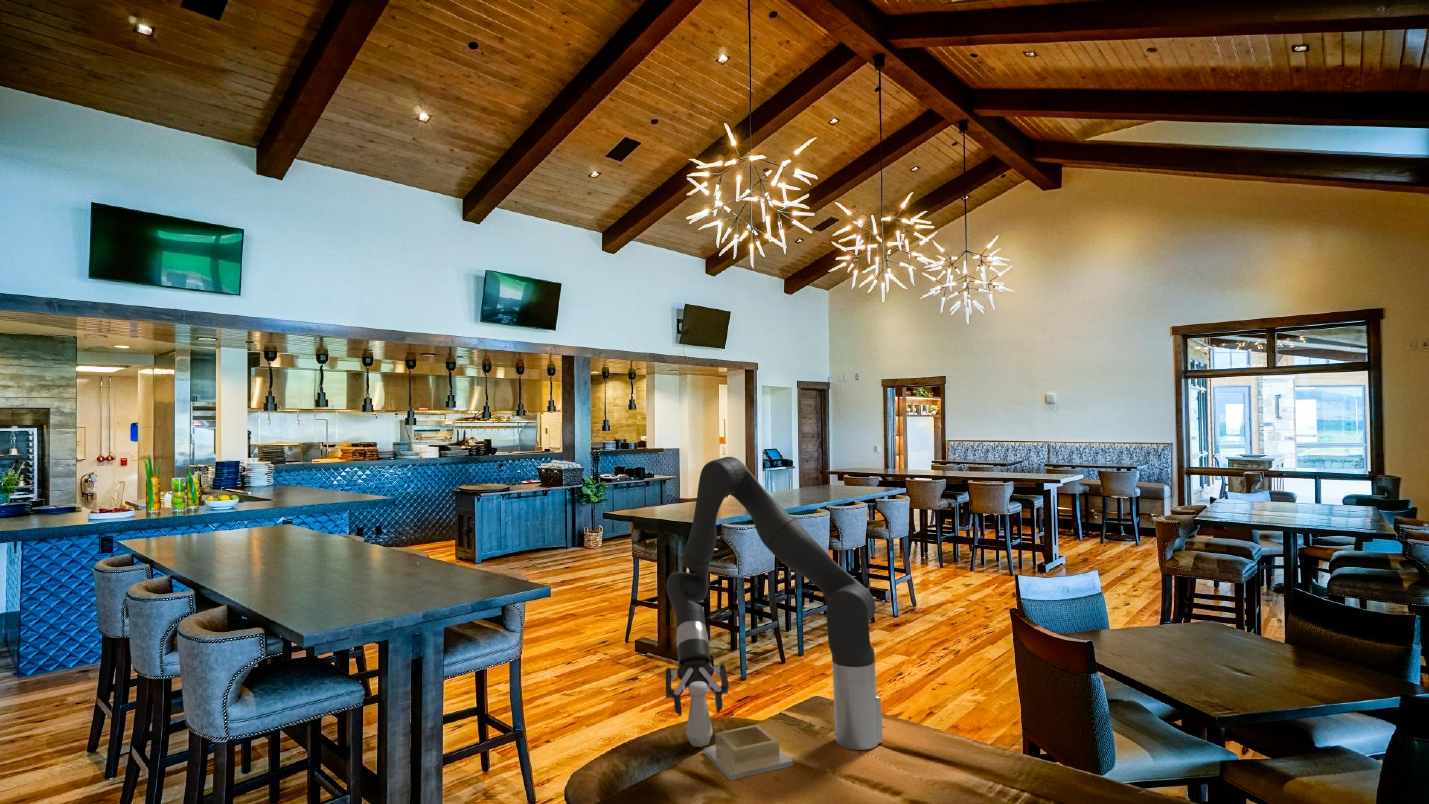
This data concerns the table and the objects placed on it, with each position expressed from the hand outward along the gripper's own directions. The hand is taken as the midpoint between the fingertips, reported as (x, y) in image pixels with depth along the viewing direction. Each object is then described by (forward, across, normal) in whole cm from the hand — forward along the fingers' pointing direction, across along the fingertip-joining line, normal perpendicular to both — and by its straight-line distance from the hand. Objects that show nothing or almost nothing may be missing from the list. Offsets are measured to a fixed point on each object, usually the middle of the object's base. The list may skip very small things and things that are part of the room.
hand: (699, 712), depth 153 cm
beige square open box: (+11, +9, -2) cm, 14 cm away
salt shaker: (+4, 0, +6) cm, 7 cm away
